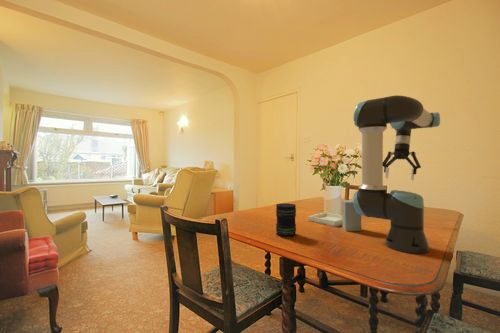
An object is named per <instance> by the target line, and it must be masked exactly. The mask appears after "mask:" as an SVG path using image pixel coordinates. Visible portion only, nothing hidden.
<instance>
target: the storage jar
mask: <svg viewBox="0 0 500 333" xmlns="http://www.w3.org/2000/svg"><path fill="white" fill-rule="evenodd" d="M296 206H297V205H296V204H294V203H287V202H286V203H285V202H283V203H276V204H275V207H276V209H275V216H276V223H275V225H276V227H275V231H276V233H275V234H276V236H277V235H278V236H277V237H279V236H280V237H279V238H283V237H292V238H295V237H297V235H296V234H297V227H296V226H297V224H296V216H297V208H296ZM294 236H295V237H294Z"/></svg>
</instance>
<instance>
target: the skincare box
mask: <svg viewBox="0 0 500 333" xmlns="http://www.w3.org/2000/svg"><path fill="white" fill-rule="evenodd" d="M341 211H342V212H341V214H342V225H341V227H342V229H343V230H344V231H345V232H362V215H359V214H358V213H357V211H356V210H355V208H354V203H353V199H342V200H341Z"/></svg>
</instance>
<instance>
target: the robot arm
mask: <svg viewBox="0 0 500 333" xmlns="http://www.w3.org/2000/svg"><path fill="white" fill-rule="evenodd" d="M353 123H354V125H355V127H357V128H358V131H359V132H360V133H361V185H359V186H358V190H356V191H354V194H353V197H352V200H353V203H354V208H355V210H356V211H357V213H358V214H359V215H361V217H362V216H363V217H367V218H373V219H381V220H389V221H390V226H389V227H390V228H389V230H388V233H387V235H386V238H385V245H386V246H387V247H388V248H390V249H393V250H396V251H400V252H403V253H409V254H426V253H429V251H430V245H429V242H428V239H427V237H426V234H425V232H424V230H425V229H424V228H425V227H424V223H425V222H424V220H425V219H424V215H425V211H424V210H425V205H424V197H423V196H422V195H421V194H418V193H416V192H411V191H405V190H397V189H394V190H391V191H389V192H390V193H389V192H387V188H386V187H385V185H384V182H383V181H384V180H383V178H385V179H389V172H390V168H389V167H390V166H391V165H392V164H393V163H394V162H395V161H396V160H406V161H407V162H408V163H409V165H410V166H412V168H411V174H410V181H414V180H415V175H417V170H418V169H421V167H422V166H421V164H420V162H419V159H418V158H417V156H416V155H417V154H416V152H415V151H410V145H411V136H412V130H416V129H429V128H430V129H431V128H435V127H439V126H440V124H441V114H440V113H439V112H429V111H427V110H426V109H425V108H424V106H423V104H422V103H421V101H419V100H418V99H416V98H413V97H410V96H406V95H398V94H397V95H396V94H395V95H390V96H384V97H380V98H379V97H378V98H373V99H368V100H365V101H360V102H359V103H358V104H357V105H355V108H354V110H353ZM388 124H389V126H390V127H391V129H393V130H395V141H394V148H393V149H394V151H388V153H387V156H386V157H385V158H384V154H383V153H384V149H383V148H384V146H383V145H384V139H383V138H384V132H385V131H386V130H387V129H388V128H387V127H388V126H387V125H388ZM409 156H412V158H413V161H414V162H413V161H412V160H411V159H410V157H409ZM391 157H392V158H391ZM383 159H384V160H383ZM414 163H415V164H414ZM384 173H385V175H383V174H384ZM383 176H384V177H383Z"/></svg>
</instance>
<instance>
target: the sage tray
mask: <svg viewBox="0 0 500 333" xmlns="http://www.w3.org/2000/svg"><path fill="white" fill-rule="evenodd" d="M308 220H310V221H314V222H313V223H315V222H318V223H317V224H319V223H322V224H321V225H324V224H326V225H325V226H329V225H330V226H329V227H333V226H334V228H335V227H339V226H342V215H341V214H336V213H330V212H321V213H316V214H312V215H308V217H307V221H308ZM310 221H309V222H310Z"/></svg>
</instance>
